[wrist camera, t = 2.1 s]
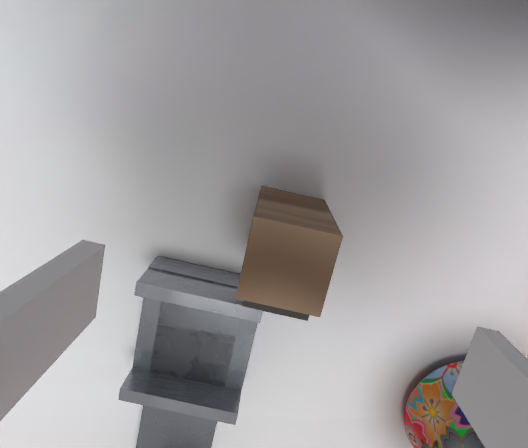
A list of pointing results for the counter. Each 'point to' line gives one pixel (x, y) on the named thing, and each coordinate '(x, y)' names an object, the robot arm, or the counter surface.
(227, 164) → the counter surface
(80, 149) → the counter surface
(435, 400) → the mug
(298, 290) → the block
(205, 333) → the rail
